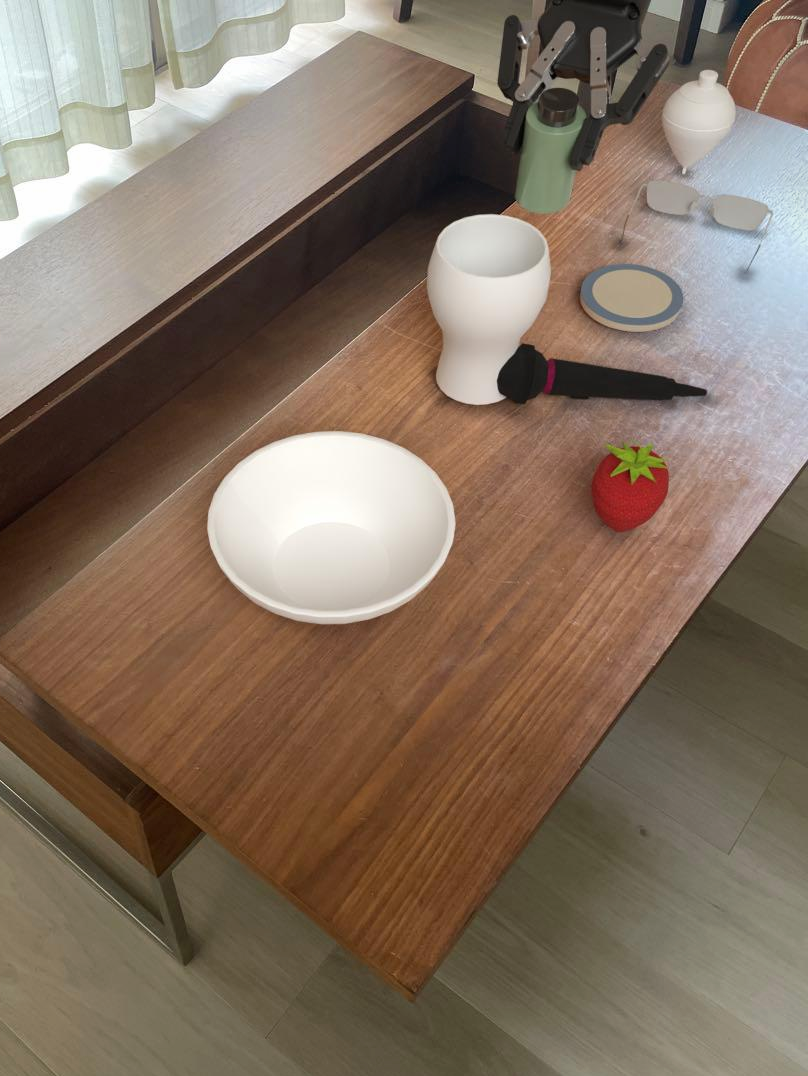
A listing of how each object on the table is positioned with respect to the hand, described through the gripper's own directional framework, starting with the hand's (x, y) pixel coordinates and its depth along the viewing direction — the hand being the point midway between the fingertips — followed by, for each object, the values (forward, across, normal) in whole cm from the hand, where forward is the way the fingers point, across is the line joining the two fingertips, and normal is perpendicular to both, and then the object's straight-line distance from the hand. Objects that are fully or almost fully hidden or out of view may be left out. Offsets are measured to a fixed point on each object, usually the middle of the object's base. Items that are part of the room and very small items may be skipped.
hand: (543, 159), depth 90 cm
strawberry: (+27, +16, +5) cm, 31 cm away
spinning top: (-12, +4, +44) cm, 46 cm away
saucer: (+6, +7, +25) cm, 27 cm away
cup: (+18, -2, +12) cm, 22 cm away
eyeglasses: (-4, +9, +35) cm, 36 cm away
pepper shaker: (+2, 0, +5) cm, 6 cm away
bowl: (+38, -3, -6) cm, 38 cm away
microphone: (+17, +9, +14) cm, 24 cm away
